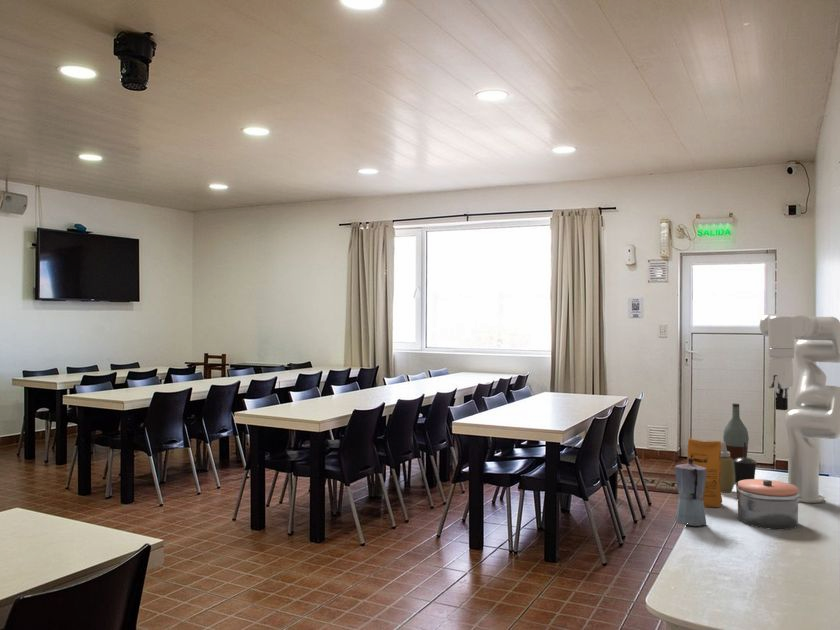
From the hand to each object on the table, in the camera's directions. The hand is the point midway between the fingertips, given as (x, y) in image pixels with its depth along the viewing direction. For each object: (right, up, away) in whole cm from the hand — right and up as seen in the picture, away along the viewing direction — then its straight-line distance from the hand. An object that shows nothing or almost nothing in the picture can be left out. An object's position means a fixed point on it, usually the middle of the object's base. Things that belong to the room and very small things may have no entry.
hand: (781, 409), depth 233 cm
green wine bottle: (+6, -34, +48) cm, 59 cm away
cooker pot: (-9, -34, -9) cm, 36 cm away
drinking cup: (-4, -34, +18) cm, 39 cm away
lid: (-9, -24, -9) cm, 27 cm away
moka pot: (-34, -34, -11) cm, 49 cm away
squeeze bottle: (-6, -34, +30) cm, 46 cm away
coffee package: (-21, -34, +13) cm, 42 cm away
